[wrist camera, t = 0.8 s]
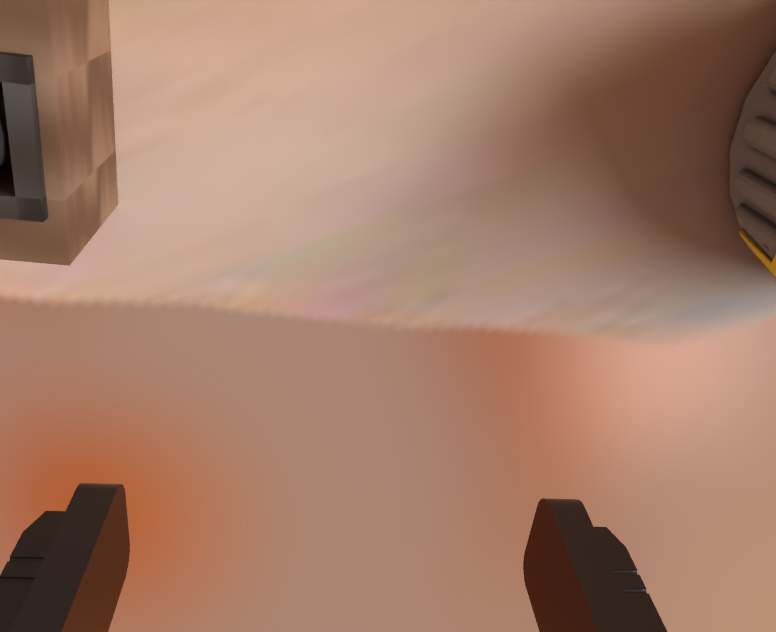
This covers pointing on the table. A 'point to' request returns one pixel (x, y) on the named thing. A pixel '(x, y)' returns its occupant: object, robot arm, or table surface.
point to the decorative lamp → (757, 168)
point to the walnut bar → (56, 128)
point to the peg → (3, 132)
